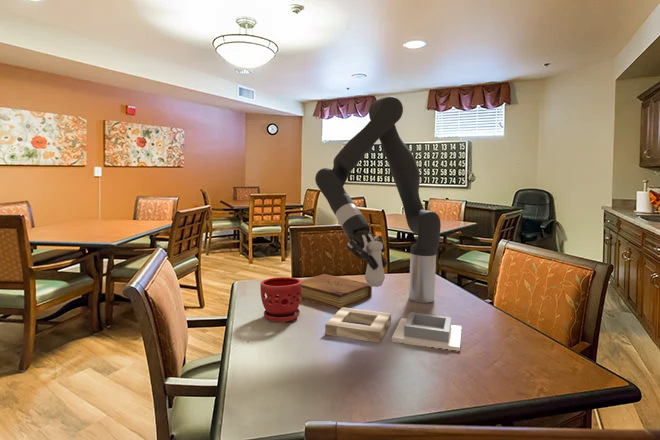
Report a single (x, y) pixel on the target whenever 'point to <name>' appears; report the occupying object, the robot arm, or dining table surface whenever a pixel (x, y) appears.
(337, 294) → the diary
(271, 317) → the plant pot
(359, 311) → the birch holder block
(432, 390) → the dining table surface
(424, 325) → the socket plate
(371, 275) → the salt shaker
